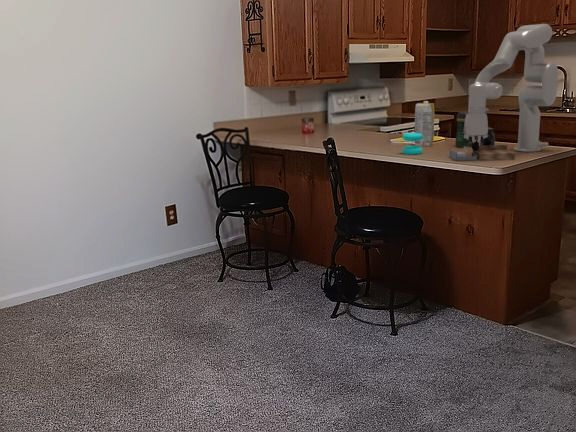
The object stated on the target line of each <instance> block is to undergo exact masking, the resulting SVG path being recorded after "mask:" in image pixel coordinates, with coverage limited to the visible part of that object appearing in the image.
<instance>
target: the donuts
mask: <svg viewBox="0 0 576 432" xmlns="http://www.w3.org/2000/svg"><path fill="white" fill-rule="evenodd" d="M422 138H423V135H422V134H420V133H415V132H407V133H404V134H403V135H402V139H403V141H406V142H414V143H415V141H420V140H421V139H422ZM401 150H402V151H401V152H402V153H403V154H404V155H410V156H411V155H421V154H422V153H423V148H422V146H416V145H408V146H405V147H403V148H402V149H401Z"/></svg>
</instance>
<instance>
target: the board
mask: <svg viewBox="0 0 576 432" xmlns="http://www.w3.org/2000/svg"><path fill="white" fill-rule="evenodd" d="M472 153H474V154H476V155H477V161H502V160H503V161H505V160H506V159H511V160H515V159H516V152H515V151H511V150H509V149H508V145H507V144H497V145H496V144H495V145H489V146H480V145H479V149H478V151H473V150H472Z"/></svg>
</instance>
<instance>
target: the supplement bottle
mask: <svg viewBox="0 0 576 432" xmlns="http://www.w3.org/2000/svg"><path fill="white" fill-rule="evenodd" d="M487 136H488V137H487V138H483V139H482V140H481V141H480V142H479V146H489V145H496V144H495V143H496V142H495V141H496V136H495V134H494V128H492V127H488V133H487Z"/></svg>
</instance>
